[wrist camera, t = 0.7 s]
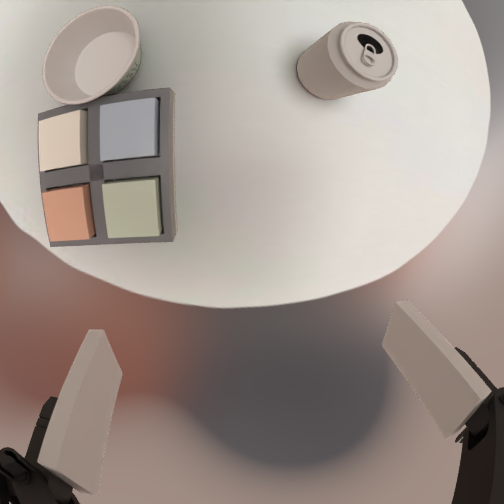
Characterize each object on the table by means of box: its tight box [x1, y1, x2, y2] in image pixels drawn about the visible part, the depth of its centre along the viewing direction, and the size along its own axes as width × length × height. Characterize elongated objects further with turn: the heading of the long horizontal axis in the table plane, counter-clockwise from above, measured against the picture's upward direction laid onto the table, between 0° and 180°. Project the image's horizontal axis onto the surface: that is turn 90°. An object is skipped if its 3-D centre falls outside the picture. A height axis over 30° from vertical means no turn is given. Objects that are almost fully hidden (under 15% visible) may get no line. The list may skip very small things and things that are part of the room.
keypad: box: [38, 88, 177, 247], centre depth 27 cm, size 17×17×4 cm
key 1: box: [102, 177, 163, 238], centre depth 27 cm, size 6×6×2 cm
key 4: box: [39, 110, 89, 172], centre depth 23 cm, size 6×6×2 cm
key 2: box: [42, 183, 96, 242], centre depth 26 cm, size 6×6×2 cm
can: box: [297, 22, 398, 99], centre depth 22 cm, size 8×8×12 cm
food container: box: [43, 6, 141, 105], centre depth 20 cm, size 12×12×6 cm
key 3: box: [100, 98, 160, 161], centre depth 24 cm, size 6×6×2 cm
